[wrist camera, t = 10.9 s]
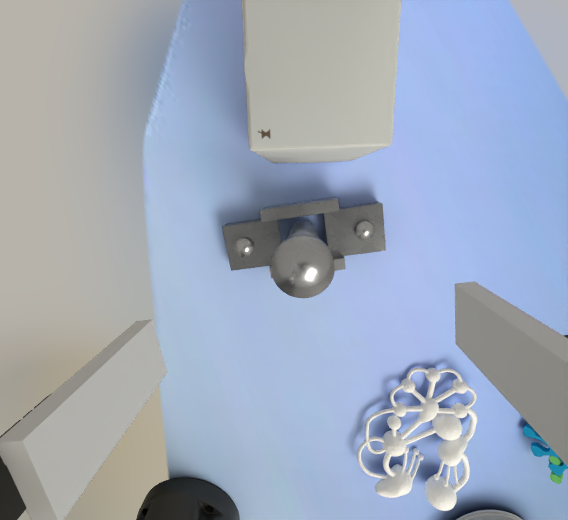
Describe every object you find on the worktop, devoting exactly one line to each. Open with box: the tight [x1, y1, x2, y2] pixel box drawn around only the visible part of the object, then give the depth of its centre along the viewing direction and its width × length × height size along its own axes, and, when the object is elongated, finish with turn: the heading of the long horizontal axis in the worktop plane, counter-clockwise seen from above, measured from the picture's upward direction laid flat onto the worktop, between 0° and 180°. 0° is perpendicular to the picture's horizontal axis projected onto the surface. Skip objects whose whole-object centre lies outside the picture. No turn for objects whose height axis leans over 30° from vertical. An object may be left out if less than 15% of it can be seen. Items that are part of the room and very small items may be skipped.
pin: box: [271, 221, 335, 298], centre depth 29 cm, size 5×5×13 cm
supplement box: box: [242, 0, 401, 163], centre depth 24 cm, size 9×9×15 cm
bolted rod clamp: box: [222, 197, 386, 278], centre depth 33 cm, size 17×7×3 cm, turn 99°
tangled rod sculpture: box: [357, 367, 477, 511], centre depth 39 cm, size 19×14×4 cm
